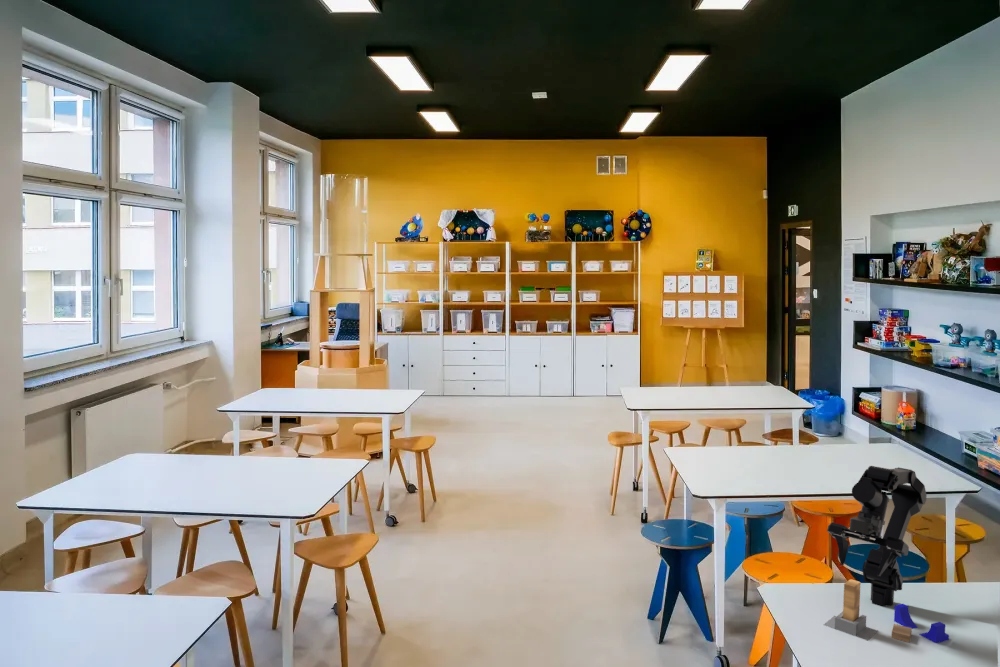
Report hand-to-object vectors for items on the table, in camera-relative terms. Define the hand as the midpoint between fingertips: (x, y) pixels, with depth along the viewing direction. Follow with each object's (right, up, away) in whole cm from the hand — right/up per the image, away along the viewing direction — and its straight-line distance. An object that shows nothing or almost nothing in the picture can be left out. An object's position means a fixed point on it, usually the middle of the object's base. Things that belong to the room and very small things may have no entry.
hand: (859, 570), depth 189 cm
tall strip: (-3, -14, -2) cm, 15 cm away
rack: (-3, -16, -2) cm, 16 cm away
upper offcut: (+8, -15, -6) cm, 18 cm away
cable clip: (+14, -16, -3) cm, 22 cm away
